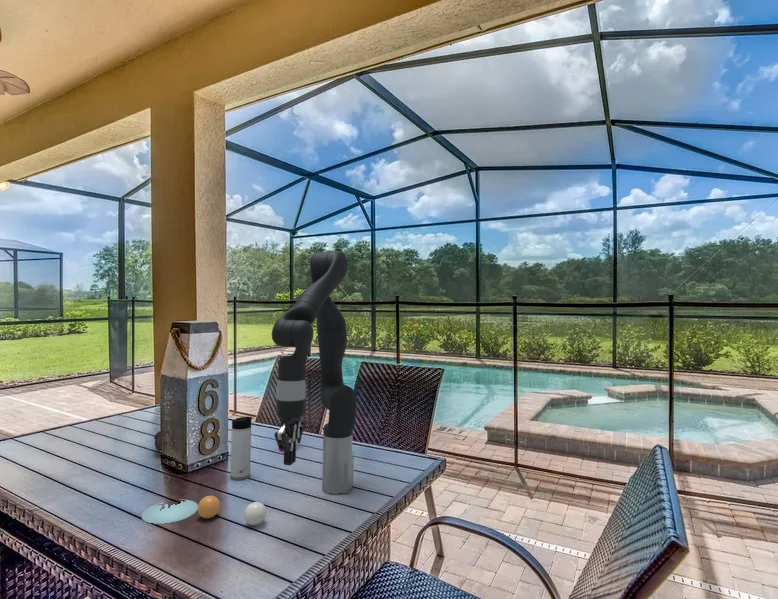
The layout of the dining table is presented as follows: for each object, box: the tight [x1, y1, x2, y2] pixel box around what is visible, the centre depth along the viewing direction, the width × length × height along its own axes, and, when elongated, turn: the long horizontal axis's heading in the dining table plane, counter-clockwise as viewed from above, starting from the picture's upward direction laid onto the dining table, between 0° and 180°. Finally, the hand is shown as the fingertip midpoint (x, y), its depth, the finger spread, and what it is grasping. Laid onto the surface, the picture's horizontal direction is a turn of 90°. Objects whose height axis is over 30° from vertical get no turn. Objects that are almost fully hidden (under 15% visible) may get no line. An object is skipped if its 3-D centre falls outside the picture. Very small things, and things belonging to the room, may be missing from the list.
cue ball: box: [243, 501, 267, 526], centre depth 116 cm, size 6×6×6 cm
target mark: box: [141, 499, 198, 525], centre depth 122 cm, size 14×14×1 cm
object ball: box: [197, 495, 221, 519], centre depth 119 cm, size 6×6×6 cm
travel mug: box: [229, 416, 253, 481], centre depth 147 cm, size 6×7×20 cm
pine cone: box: [153, 430, 162, 454], centre depth 168 cm, size 18×10×10 cm, turn 52°
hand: (289, 463), depth 114 cm, fingers closed
